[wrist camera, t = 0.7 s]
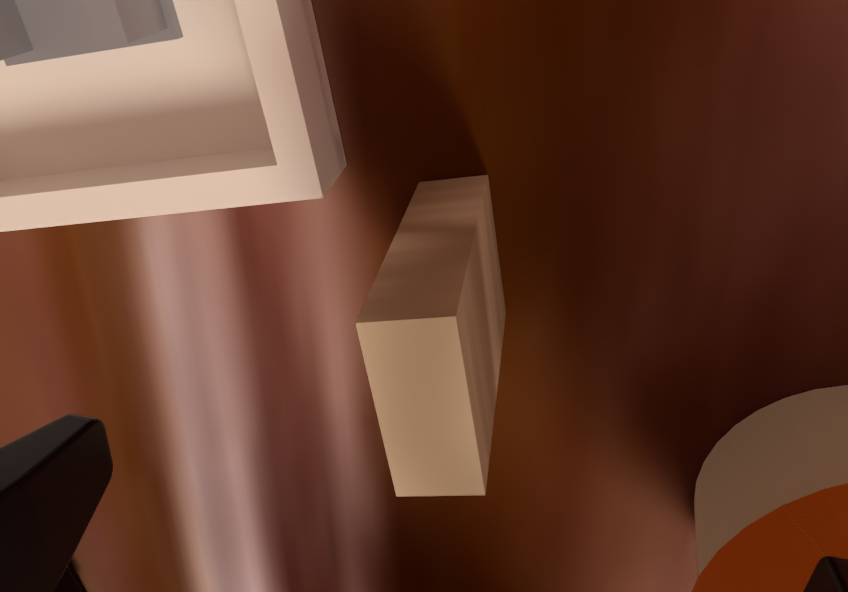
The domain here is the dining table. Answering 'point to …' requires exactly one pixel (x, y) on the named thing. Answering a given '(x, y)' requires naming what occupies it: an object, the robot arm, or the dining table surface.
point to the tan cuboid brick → (437, 340)
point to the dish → (160, 108)
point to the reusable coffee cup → (774, 496)
